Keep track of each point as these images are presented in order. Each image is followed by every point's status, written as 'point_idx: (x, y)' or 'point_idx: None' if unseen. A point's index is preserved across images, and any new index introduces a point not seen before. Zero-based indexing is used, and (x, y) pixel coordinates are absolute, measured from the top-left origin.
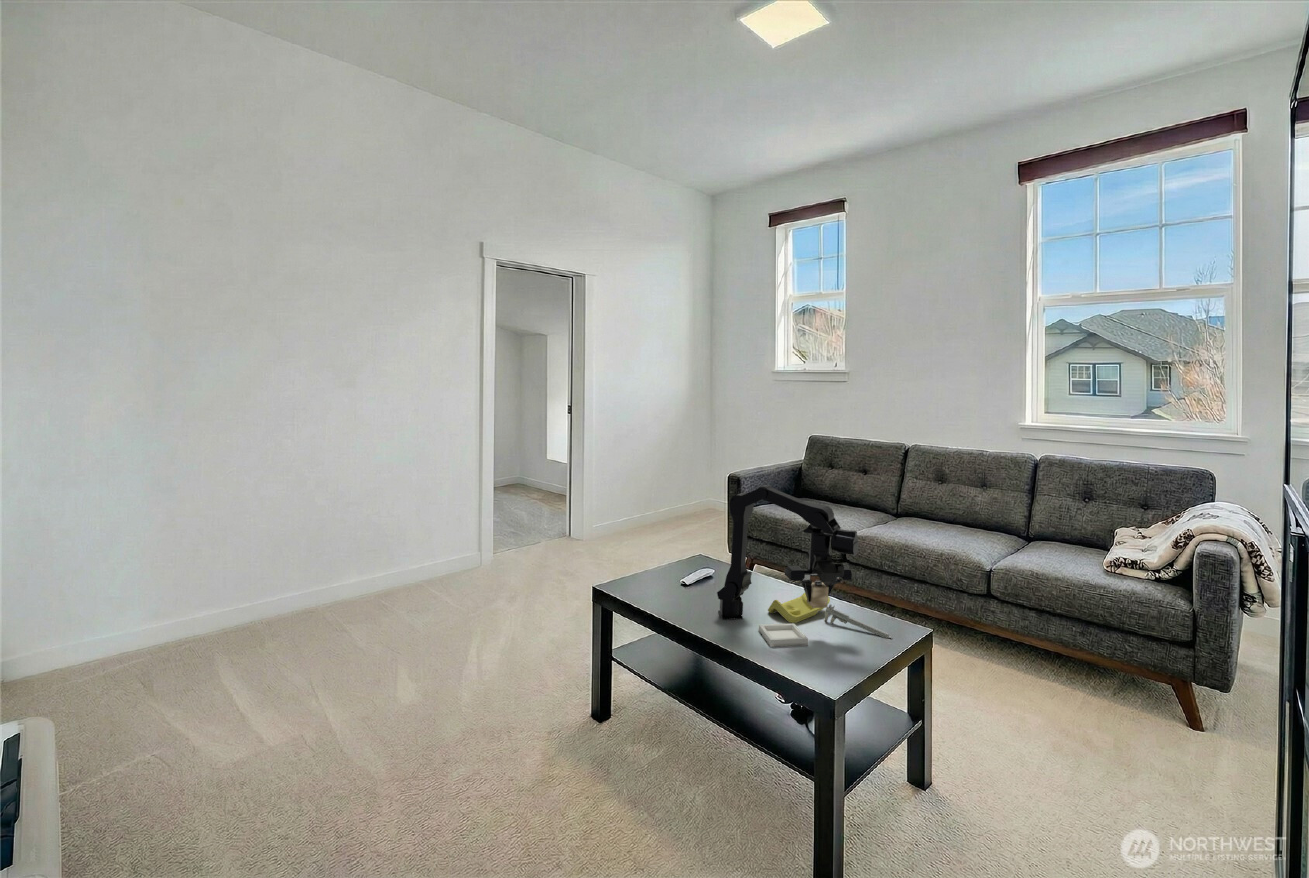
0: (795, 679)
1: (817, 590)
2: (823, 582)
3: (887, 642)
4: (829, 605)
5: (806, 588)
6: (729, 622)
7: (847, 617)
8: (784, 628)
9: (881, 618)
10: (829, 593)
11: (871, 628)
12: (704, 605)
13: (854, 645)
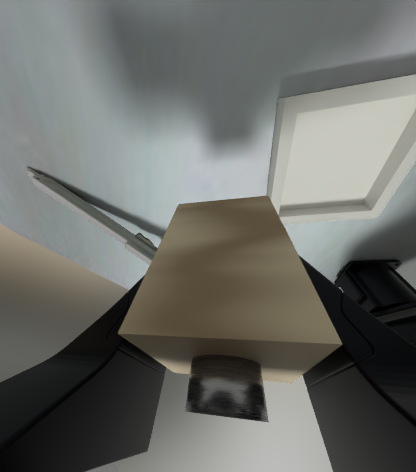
0: None
1: (262, 298)
2: (165, 369)
3: (31, 145)
4: None
5: (397, 333)
6: (394, 249)
7: (129, 241)
8: (297, 210)
9: (81, 259)
10: (142, 279)
11: (74, 203)
12: None
13: (117, 112)
